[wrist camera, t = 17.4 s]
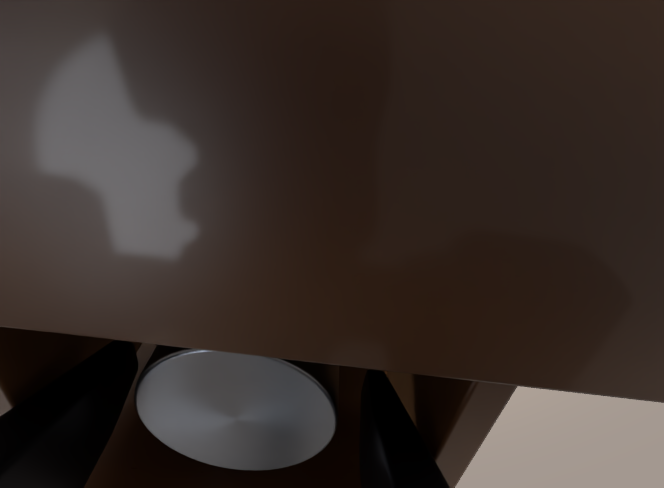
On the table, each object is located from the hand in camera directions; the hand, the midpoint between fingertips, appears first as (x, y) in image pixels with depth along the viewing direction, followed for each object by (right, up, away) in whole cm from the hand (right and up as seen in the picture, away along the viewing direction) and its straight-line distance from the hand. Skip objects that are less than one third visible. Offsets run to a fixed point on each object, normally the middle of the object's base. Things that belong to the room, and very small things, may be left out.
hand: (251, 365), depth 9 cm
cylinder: (0, +3, +4) cm, 5 cm away
